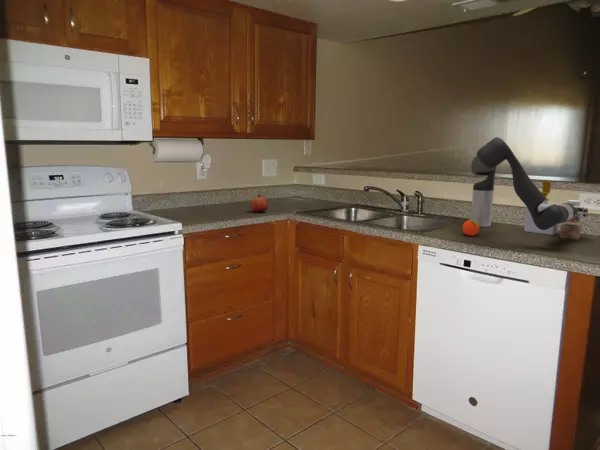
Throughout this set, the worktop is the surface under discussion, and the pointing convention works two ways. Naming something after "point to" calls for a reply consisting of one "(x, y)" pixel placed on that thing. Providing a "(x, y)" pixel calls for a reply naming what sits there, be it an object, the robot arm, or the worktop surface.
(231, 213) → the worktop surface
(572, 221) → the pill bottle
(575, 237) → the walnut block
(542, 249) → the worktop surface
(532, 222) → the soap bottle
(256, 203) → the fruit
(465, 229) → the clementine
